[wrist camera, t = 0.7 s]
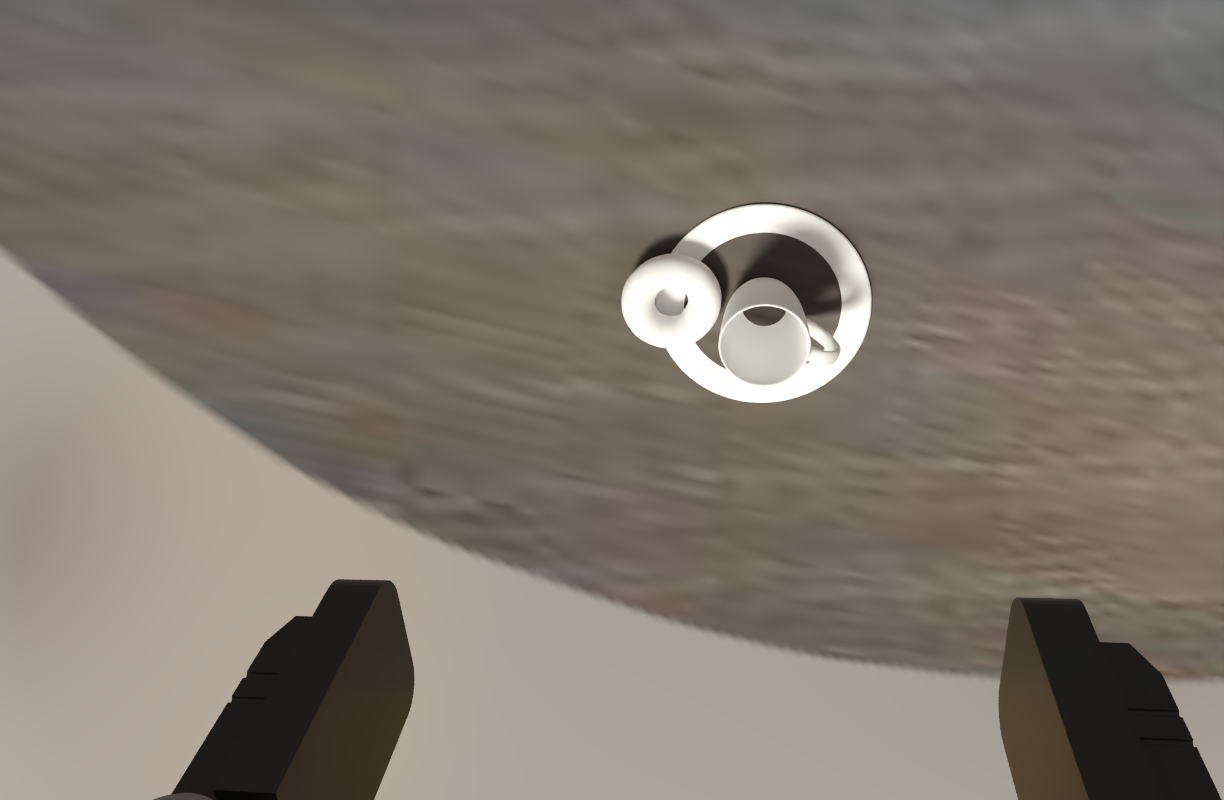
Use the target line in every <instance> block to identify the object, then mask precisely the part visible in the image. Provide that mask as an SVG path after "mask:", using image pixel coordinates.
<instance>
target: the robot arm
mask: <svg viewBox="0 0 1224 800" xmlns="http://www.w3.org/2000/svg"><path fill="white" fill-rule="evenodd" d="M413 690H414V667H413V661H412V657H411V652H410V647H409V643H408V639H407V634H406V629H405V625H404V620H403V616H402V611H401V606H400V602H399V598H398V593H397V590H396V587H395V585H394V584H393V583H392V582H391V581H385V580H344V579H342V580H341V579H340V580H336V581H334V582H333V583H332V584H331V585H330V587H329V588H328V590H327V592H326V593H325V595H324V597H323V599H322V600H321V602H320V604H319V606H318V607H317V609H316V611H315V613H314V614H313V616H312V617H307V616H305V617H304V616H303V617H302V616H295V617H294V618H293V619H292V620H291V621H290V622H288V623H287V624H286V625H285V626H284V627H282V628H281V629H280V630H279V631H278V632H276V633H275V634H274V635H273V636H272V637H271V638H269V639H268V640H267V641H266V642H265V643H264V645H263V647H262V648H261V650H260V651H259V653H258V655H257V656H256V658H255V659H254V661H253V663H252V664H251V666H250V668H249V669H248V671H247V677H246V678H243V679H242V681H241V682H240V684H239V685H238V687H237V689H236V690H235V692H234V694H233V695H232V701H231V703H227V705H226V706H225V708H224V710H223V711H222V713H221V715H220V716H219V718H218V719H217V721H216V723H215V724H214V726H213V728H212V729H211V731H210V732H209V734H208V736H207V737H206V739H205V741H204V742H203V744H202V746H201V747H200V749H199V750H198V752H197V754H196V755H195V757H194V759H193V760H192V762H191V763H190V765H189V767H188V768H187V770H186V771H185V773H184V775H183V776H182V778H181V780H180V781H179V783H178V785H177V786H176V788H175V789H174V791H173V793H172V794H171V795H167V796H163V797H160V798H157V799H154V800H374V798H375V796H376V793H377V791H378V789H379V786H380V784H381V781H382V779H383V776H384V774H385V771H386V769H387V766H388V764H389V761H390V759H391V756H392V754H393V751H394V749H395V746H396V744H397V741H398V739H399V736H400V733H401V731H402V729H403V726H404V724H405V721H406V719H407V716H408V714H409V711H410V707H411V703H412V698H413V692H414V691H413ZM999 719H1000V729H1001V735H1002V740H1003V744H1004V748H1005V752H1006V755H1007V759H1008V763H1009V767H1010V770H1011V774H1012V778H1013V782H1014V785H1015V789H1016V793H1017V797H1018V800H1221V798H1220V796H1219V793H1218V791H1217V789H1216V787H1215V785H1214V783H1213V781H1212V779H1211V777H1210V774H1209V772H1208V771H1207V768H1206V766H1205V764H1204V762H1203V760H1202V758H1201V756H1200V753H1199V751H1198V749H1197V747H1194V746H1193V739H1192V737H1191V735H1190V732H1189V730H1188V728H1187V726H1186V724H1185V722H1184V720H1183V718H1182V717H1180V716H1179V709H1178V707H1177V705H1176V703H1175V701H1174V699H1173V697H1172V694H1171V692H1170V690H1169V688H1168V686H1167V684H1166V682H1165V680H1164V678H1163V676H1162V674H1161V673H1160V672H1159V671H1158V670H1157V669H1156V668H1155V667H1153V666H1152V665H1151V664H1150V663H1149V662H1148V661H1147V660H1146V659H1145V658H1144V657H1143V656H1142V655H1141V654H1140V653H1139V652H1138V651H1137V650H1136V649H1135V648H1134V647H1132V646H1131V645H1130V644H1129V643H1108V642H1099V640H1098V637H1097V635H1096V632H1095V630H1094V628H1093V625H1092V623H1091V620H1090V618H1089V616H1088V613H1087V611H1086V609H1085V606H1084V605H1083V603H1082V602H1081V601H1080V600H1078V599H1053V598H1015V599H1014V600H1013V603H1012V606H1011V610H1010V617H1009V624H1008V631H1007V638H1006V645H1005V652H1004V659H1003V666H1002V673H1001V680H1000V687H999Z"/></svg>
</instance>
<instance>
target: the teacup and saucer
mask: <svg viewBox="0 0 1224 800" xmlns="http://www.w3.org/2000/svg"><path fill="white" fill-rule="evenodd" d="M761 232H767V233H778V234H783V235H787V236H790V237H793V238H796V239H798V240H800V241H802V242H804V243H806V244H808V245H809V246H811V247H812V248H814V249H815V250H816V251H817V252H818V253H819V254H821V255H822V256H823V258H824V259H825V260H826V261H827V262H828V264H829V265H830V266H831V268H832V270H833V271H834V273H835V275H836V278H837V280H838V283H839V286H840V291H841V297H842V310H841V317H840V321H839V324H838V327H837V330H836V332H835V334H834V336H832V335H830V334H829V333H828V332H827V331H826V330H824V329H823V328H822V327H820V326H819V325H817V324H816V323H814V322H813V321H811V320H809V319H808V318H806V317H805V314H804V311H803V308H802V306H801V304H800V302H799V300H798V298H797V296H796V295H795V294H794V292H793V291H792V290H791V289H790V288H789V287H788V286H787V285H786V284H784V283H783V282H781V281H779V280H776V279H773V278H767V277H761V278H755V279H752V280H750V281H747V282H746V283H744V284H743V285H741V286H740V287H739V288H738V289H737V290H736V291H735V292H734V294H733V295H732V297H731V298H730V300H729V302H728V305H727V307H726V310H725V313H724V317H723V321H722V326H721V330H720V336H719V354H720V357H721V360H722V362H723V364H724V366H725V367H726V369H727V370H726V369H724V368H722V367H720V366H719V365H717V364H716V363H714V362H713V361H711V360H710V359H709V358H708V357H707V356H706V355H705V354H704V353H703V352H702V351H701V350H700V349H699V348H698V346H697V345H696V343H695V342H696V341H698V340H699V339H701V338H702V337H703V336H704V335H705V334H706V333H707V332H708V331H709V330H710V329H711V328H712V327H713V325H714V323H715V322H716V320H717V318H718V315H719V312H720V308H721V300H722V296H721V289H720V286H719V283H718V281H717V279H716V277H715V275H714V274H713V272H712V271H711V270H710V268H709V267H708V266H706V265H705V264H704V263H702V262H701V260H702V259H703V258H704V257H705V256H706V255H707V254H708V253H709V252H711V251H712V250H713V249H714V248H716V247H717V246H719V245H720V244H722V243H724V242H726V241H728V240H730V239H733V238H735V237H738V236H742V235H746V234H751V233H761ZM685 293H686V294H687V296H688V303H687V305H686V308H685V309H684V298H685ZM655 298H656V300H655ZM758 306H773V307H777V308H781V309H783V310H786V313H785V315H784V316H783V318H782V319H781V320H780V321H778V322H777V323H775V324H773V325H769V326H759V325H756V324H753V323H752V322H750V321H749V320H748V319H747V318H746V317H745V316H744V314H743V311H745V310H747V309H750V308H753V307H758ZM871 307H872V296H871V287H870V282H869V278H868V274H867V271H866V268H865V266H864V264H863V262H862V260H861V258H860V256H859V254H858V252H857V251H856V249H855V248H854V247H853V245H852V244H851V243H850V242H849V240H848V239H847V238H846V237H845V236H844V235H843V234H842V233H841V232H840V231H839V230H837V229H836V228H835V227H834V226H832V225H831V224H830V223H828V222H827V221H825V220H823V219H822V218H820V217H818V216H816V215H814V214H812V213H809V212H807V211H804V210H801V209H798V208H795V207H790V206H785V205H778V204H753V205H745V206H740V207H736V208H732V209H729V210H726V211H724V212H721V213H719V214H716V215H714V216H712V217H710V218H709V219H707V220H705V221H703V222H702V223H700V224H699V225H698V226H696V227H695V228H694V229H692V230H691V231H690V232H689V233H688V234H687V235H686V236H685V237H684V238H683V239H682V240H681V241H680V242H679V243H678V244H677V246H676V247H675V248H674V250H673V251H672V252H671V254H664V255H659V256H656V257H653V258H651V259H649V260H647V261H646V262H644V263H643V264H641V265H640V266H639V267H638V268H637V269H636V270H635V271H634V272H633V273H632V274H631V275H630V276H629V278H628V279H627V281H626V283H625V286H624V289H623V293H622V312H623V316H624V318H625V321H626V323H627V325H628V326H629V328H630V329H631V330H632V332H633V333H634V334H635V335H636V336H637V337H638V338H640V339H641V340H643V341H645V342H647V343H649V344H651V345H654V346H657V347H661V348H666V349H667V351H668V352H669V354H670V355H671V357H672V358H673V360H674V361H675V362H676V364H677V365H678V366H679V367H680V368H681V369H682V370H683V371H684V372H685V373H686V374H687V375H688V376H689V377H690V378H691V379H693V380H694V381H695V382H697V383H698V384H700V385H701V386H703V387H704V388H706V389H708V390H710V391H712V392H714V393H716V394H719V395H721V396H724V397H727V398H731V399H735V400H739V401H745V402H755V403H768V402H778V401H784V400H789V399H793V398H796V397H799V396H802V395H805V394H807V393H809V392H812V391H814V390H816V389H817V388H819V387H821V386H823V385H824V384H826V383H827V382H829V381H830V380H831V379H833V378H834V377H835V376H836V375H838V374H839V373H840V372H841V371H842V370H843V369H844V368H845V367H846V366H847V364H848V363H849V362H850V361H851V360H852V358H853V357H854V355H855V354H856V352H857V351H858V349H859V347H860V346H861V344H862V342H863V339H864V337H865V335H866V332H867V329H868V325H869V321H870V316H871ZM810 336H811V337H813V338H814V339H815V340H817V341H818V342H819V343H820V344H822V345H823V346H824V347H825V349H824V350H821V349H819V348H817V347H815V346H813V345H811V339H810ZM807 361H809V362H810V363H808V364H807V365H805V364H806V362H807Z"/></svg>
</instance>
